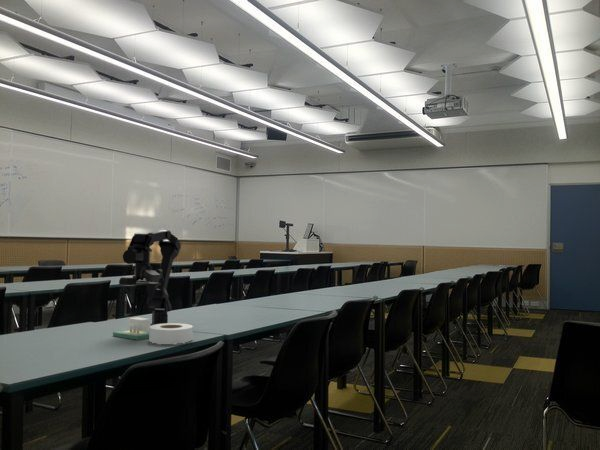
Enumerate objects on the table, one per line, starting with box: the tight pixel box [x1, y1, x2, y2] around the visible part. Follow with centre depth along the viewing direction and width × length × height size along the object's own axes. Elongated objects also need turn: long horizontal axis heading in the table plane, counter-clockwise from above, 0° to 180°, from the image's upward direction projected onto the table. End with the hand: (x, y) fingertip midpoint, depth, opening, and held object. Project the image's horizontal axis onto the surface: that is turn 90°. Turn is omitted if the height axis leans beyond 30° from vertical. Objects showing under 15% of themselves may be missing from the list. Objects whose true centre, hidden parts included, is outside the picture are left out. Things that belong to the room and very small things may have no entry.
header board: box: [112, 325, 149, 341], centre depth 204 cm, size 14×9×4 cm, turn 56°
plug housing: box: [128, 317, 152, 332], centre depth 216 cm, size 8×4×5 cm, turn 56°
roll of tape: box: [148, 322, 194, 345], centre depth 197 cm, size 16×16×6 cm
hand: (141, 301), depth 216 cm, fingers open, 9 cm apart
